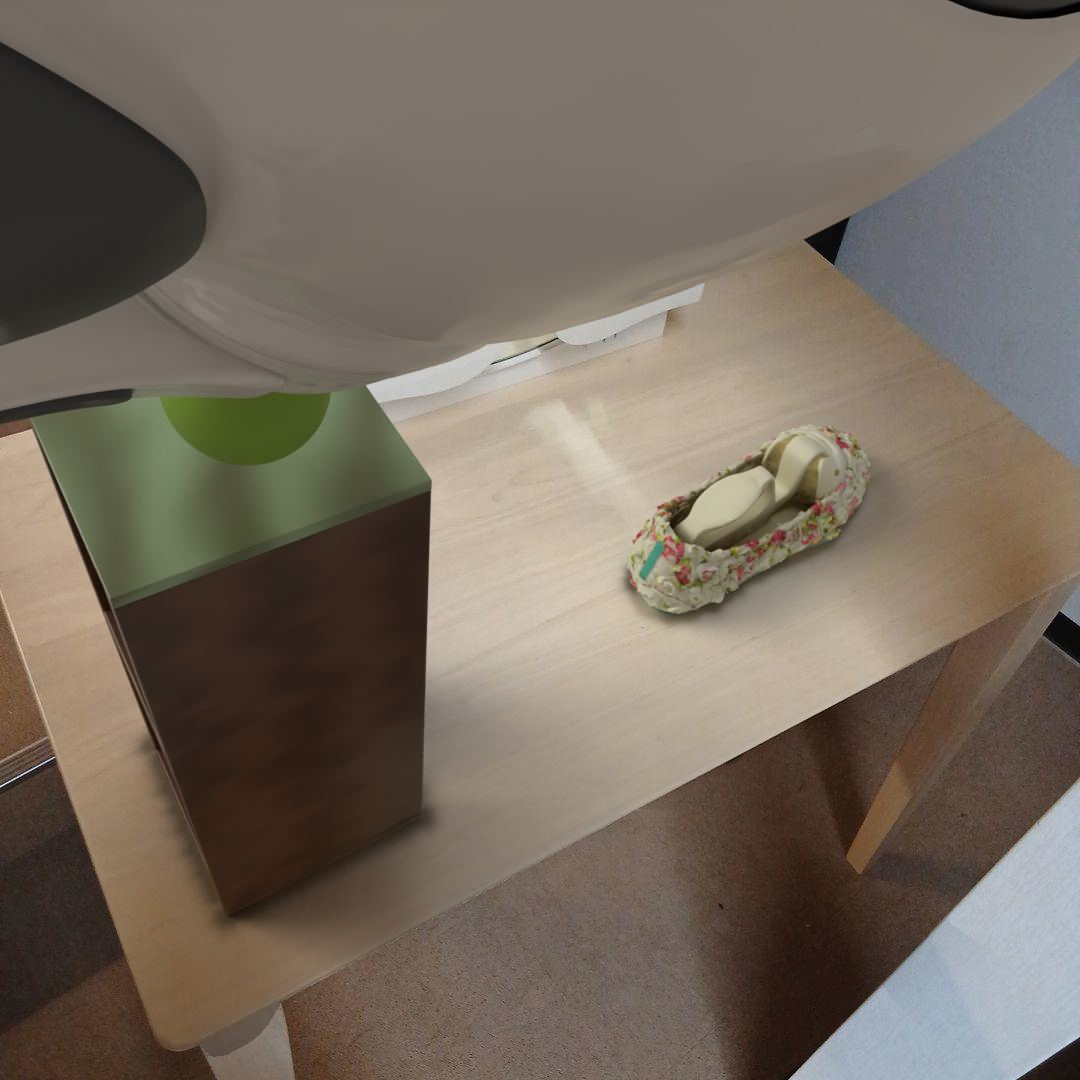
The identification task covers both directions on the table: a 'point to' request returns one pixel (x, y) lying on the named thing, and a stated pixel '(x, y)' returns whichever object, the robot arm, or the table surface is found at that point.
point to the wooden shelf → (262, 626)
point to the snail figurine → (247, 424)
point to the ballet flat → (749, 518)
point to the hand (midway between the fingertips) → (208, 273)
